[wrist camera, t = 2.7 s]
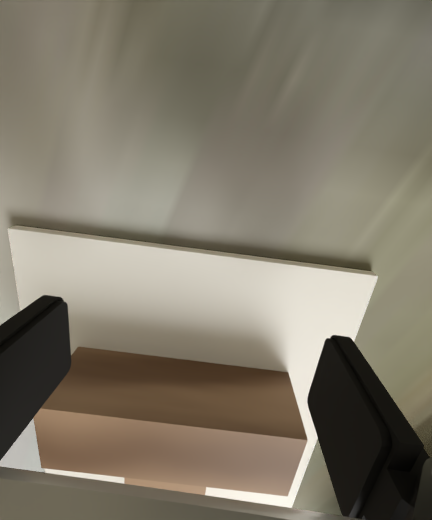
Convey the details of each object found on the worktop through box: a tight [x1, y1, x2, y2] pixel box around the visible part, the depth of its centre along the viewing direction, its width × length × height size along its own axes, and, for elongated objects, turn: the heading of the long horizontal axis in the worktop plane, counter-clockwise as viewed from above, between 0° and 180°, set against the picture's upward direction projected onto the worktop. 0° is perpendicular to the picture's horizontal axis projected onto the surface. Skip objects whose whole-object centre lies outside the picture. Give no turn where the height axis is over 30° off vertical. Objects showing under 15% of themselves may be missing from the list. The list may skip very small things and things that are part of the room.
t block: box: [33, 347, 308, 496], centre depth 16 cm, size 12×12×4 cm
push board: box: [8, 225, 378, 508], centre depth 20 cm, size 34×18×1 cm, turn 173°
